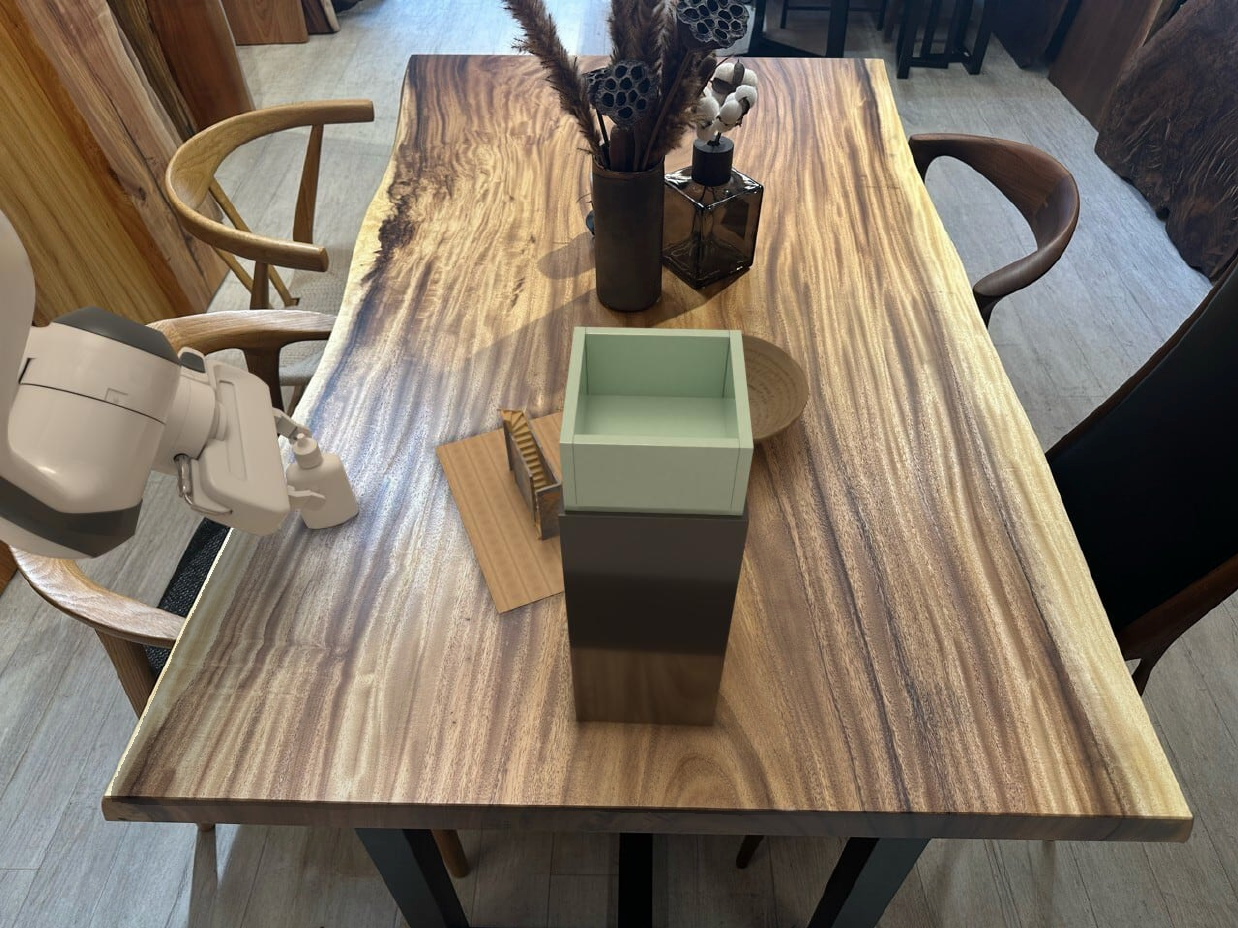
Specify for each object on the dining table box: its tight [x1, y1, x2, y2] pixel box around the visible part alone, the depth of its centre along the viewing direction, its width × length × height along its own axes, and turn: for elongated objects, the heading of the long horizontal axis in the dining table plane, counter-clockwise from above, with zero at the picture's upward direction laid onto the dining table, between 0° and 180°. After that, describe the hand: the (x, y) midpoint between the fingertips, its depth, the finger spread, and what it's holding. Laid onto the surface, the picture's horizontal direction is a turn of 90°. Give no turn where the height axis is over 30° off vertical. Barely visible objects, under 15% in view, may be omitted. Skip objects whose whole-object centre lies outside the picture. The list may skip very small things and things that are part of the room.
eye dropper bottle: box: [285, 433, 359, 530], centre depth 83 cm, size 4×6×12 cm
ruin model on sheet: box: [434, 408, 564, 615], centre depth 85 cm, size 25×16×10 cm, turn 23°
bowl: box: [741, 332, 810, 446], centre depth 93 cm, size 18×18×8 cm
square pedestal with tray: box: [558, 326, 755, 727], centre depth 62 cm, size 12×12×34 cm
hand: (315, 468), depth 82 cm, fingers open, 8 cm apart
